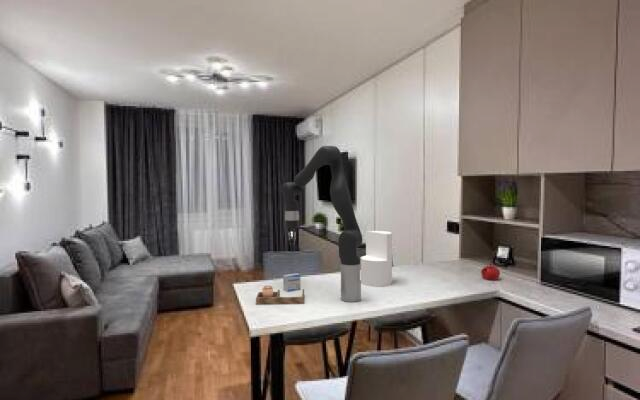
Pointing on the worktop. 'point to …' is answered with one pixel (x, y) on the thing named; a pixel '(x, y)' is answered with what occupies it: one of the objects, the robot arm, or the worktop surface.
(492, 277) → the pomegranate
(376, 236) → the white stepped solid
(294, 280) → the medicine box
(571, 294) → the worktop surface
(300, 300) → the caddy
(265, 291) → the terracotta jar
